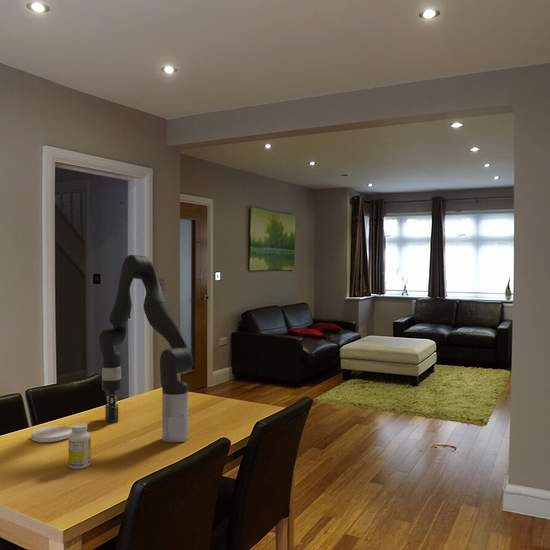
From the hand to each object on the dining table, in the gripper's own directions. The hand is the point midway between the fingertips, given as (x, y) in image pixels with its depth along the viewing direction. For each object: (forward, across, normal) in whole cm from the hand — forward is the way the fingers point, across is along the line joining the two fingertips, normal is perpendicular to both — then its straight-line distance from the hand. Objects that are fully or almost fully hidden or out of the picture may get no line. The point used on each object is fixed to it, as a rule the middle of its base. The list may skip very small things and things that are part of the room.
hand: (111, 419), depth 218 cm
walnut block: (+1, 0, 0) cm, 1 cm away
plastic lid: (+1, -16, +21) cm, 26 cm away
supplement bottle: (+1, -48, +10) cm, 49 cm away
